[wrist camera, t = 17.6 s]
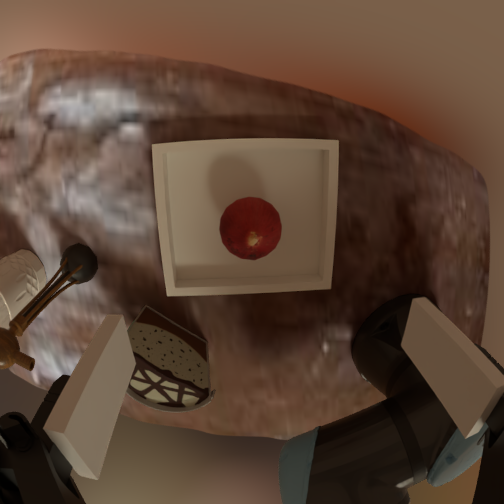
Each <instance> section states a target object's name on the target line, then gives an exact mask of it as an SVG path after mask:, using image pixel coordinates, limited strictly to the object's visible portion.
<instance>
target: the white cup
mask: <svg viewBox="0 0 504 504" xmlns="http://www.w3.org/2000/svg"><path fill="white" fill-rule="evenodd" d="M45 285H46V273H45V270H44V266H43V265H42V263H41V261H40V260H39V258H38V257H37V256H36V255H35V254H33V253H32V252H31V251H29V250H24V249H21V250H18V251H16V252H14V253H12V254H11V255H8V256H5V257H4V258H2V259H0V327H2V328H6V329H7V330H9V328H10V327H9V322H10V321H11V320H12V319H13V318H14V317H15V316H16V315H17V314H18V313H19V312H20V311H21V310H22V309H23V308H24V307H25V306H26V305H27V304H28V303H29V302H30V301H31V300H32V299H33V298H34V297H35V296H36V295H37V294H38V293H39V292H40V291H41V290H42V289H43V288H44V287H45ZM23 314H24V313H23ZM23 314H22V315H23Z"/></svg>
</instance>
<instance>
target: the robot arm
mask: <svg viewBox="0 0 504 504" xmlns="http://www.w3.org/2000/svg"><path fill="white" fill-rule="evenodd" d="M352 356H353V361H354V364H355V366H356V368H357V370H358V372H359V373H360V375H361V376H362V377H363V378H364V379H365V380H366V381H367V382H369V383H371V384H372V385H373V386H374V387H376V388H377V389H378V390H379V391H380V392H382V393H383V394H384V395H385V396H386V397H387V399H386V400H384V401H382V402H379V403H377V404H375V405H372V406H370V407H368V408H366V409H363V410H361V411H359V412H356V413H354V414H352V415H349V416H347V417H344V418H342V419H339V420H337V421H334V422H332V423H329V424H326V425H324V426H318V427H315V429H314V430H311V431H309V432H306V433H303V434H301V435H298V436H295V437H293V438H291V439H289V440H288V441H287V442H286V443H285V444H284V446H283V448H282V450H281V453H280V458H279V485H280V493H281V499H282V503H283V504H410V502H411V501H410V498H409V494H408V492H407V489H408V488H409V487H411V486H413V485H415V484H417V483H419V482H421V481H423V480H425V479H427V482H428V483H429V484H431V485H432V486H434V487H437V486H441V485H443V484H444V483H446V482H449V481H451V480H453V479H454V478H456V477H457V476H458V475H460V474H461V473H463V472H464V471H465V470H466V469H468V468H469V467H470V466H471V465H472V464H474V463H475V462H476V461H477V460H478V459H479V458H480V457H481V456H482V459H481V465H480V470H479V476H478V481H477V485H476V490H475V494H474V498H473V502H472V504H504V369H503V367H502V366H500V364H499V363H497V361H496V360H495V359H494V358H493V357H491V355H490V354H489V353H488V352H487V351H486V350H485V349H484V348H482V347H481V346H479V345H477V344H473V343H472V342H471V341H470V340H469V339H468V338H467V337H466V336H465V335H464V334H463V333H462V332H461V331H460V330H459V329H458V328H457V327H456V326H455V325H454V324H453V323H452V322H451V321H450V320H449V319H448V318H447V317H446V316H445V315H444V314H443V313H442V311H441V310H440V309H439V307H438V306H437V305H436V304H434V303H433V302H432V301H431V300H430V299H429V298H427V297H425V296H423V295H418V294H409V295H404V296H400V297H398V298H395V299H393V300H391V301H389V302H387V303H386V304H384V305H383V306H381V307H380V308H378V309H377V310H376V311H375V312H374V313H373V314H372V315H371V316H370V317H369V318H368V319H367V320H366V321H365V323H364V324H363V325H362V327H361V328H360V330H359V332H358V334H357V336H356V338H355V341H354V344H353V349H352ZM135 365H136V362H135V358H134V355H133V351H132V348H131V344H130V340H129V337H128V333H127V329H126V325H125V321H124V317H123V315H109V314H107V316H106V318H105V319H104V321H103V322H102V324H101V326H100V327H99V329H98V330H97V332H96V334H95V335H94V337H93V339H92V340H91V342H90V344H89V345H88V347H87V349H86V350H85V352H84V354H83V355H82V357H81V359H80V360H79V362H78V364H77V366H76V367H75V369H74V371H73V373H72V374H71V376H69V375H62V376H61V377H59V378H58V379H57V380H56V381H55V382H54V383H53V384H52V386H51V388H50V390H49V391H48V394H47V395H46V397H45V398H44V402H42V404H41V405H40V407H39V409H38V411H37V413H36V414H35V416H34V418H33V420H32V422H31V424H30V423H29V421H28V420H27V418H26V417H25V416H24V415H23V414H21V413H19V412H9V413H6V414H5V415H3V416H1V417H0V504H86V503H85V501H84V499H83V498H82V496H81V494H80V492H79V490H78V488H77V486H76V484H75V482H74V480H73V479H72V477H71V476H70V473H71V470H72V467H73V469H74V470H75V471H76V472H77V473H78V475H79V476H83V477H87V478H91V479H96V480H98V479H99V476H100V472H101V469H102V465H103V462H104V458H105V455H106V452H107V449H108V445H109V442H110V439H111V435H112V432H113V429H114V426H115V423H116V420H117V417H118V414H119V411H120V408H121V405H122V402H123V399H124V396H125V393H126V390H127V388H128V385H129V382H130V379H131V376H132V373H133V371H134V368H135Z"/></svg>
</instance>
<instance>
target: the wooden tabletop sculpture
mask: <svg viewBox="0 0 504 504" xmlns="http://www.w3.org/2000/svg"><path fill="white" fill-rule="evenodd" d="M60 266H61V267H60V268H59V270H58V271H57V272H56V274H55V275H54V276H53V277H52V279H51V280H50V281H49V282H48V283H47V284H46V285H45V287H44V288H43V289H42V290H41V291H40V292H39V293H38V294H37V295H36V296H35V297H34V298H33V299H32V300H31V301H30V302H29V303H28V304H27V305H26V306H25V307H24V308H23V309H22V310H21V311H20V312H19V313H18V314H17V315H16V316H15V317H14V318H13V319H12V320H11V321H10V322H9V327H10V328H9V330H7V329H6V328H2V327H0V369H5V368H9V367H11V366H12V365H13V364H14V363H16V364H18V365H20V366H22V367H23V368H25V369H27V370H29V371H32V370H33V368H34V365H35V359H34V358H32V357H30V356H28V355H26V354H24V353H22V352H20V347H19V343H18V340H17V338H16V337H15V336H16V335H17V336H18V337H19V336H22V335H23V332H24V331H25V329H26V328H27V327H28V326H29V325H30V324H31V323H32V321H33V320H34V319H35V318H36V317H37V316H38V315H39V314H40V312H41V311H42V310H43V309H44V308H45V307H46V306H47V305H48V304H49V303H50V302H51V301H52V300H53V299H54V298H56V297H57V296H58V295H59V294H60V293H61V292H63V291H64V290H65V289H67V288H68V287H70V286H72V285H73V284H81V283H84V282H88V281H89V280H91V279H92V278H93V277H94V275H95V273H96V271H97V269H98V265H97V258H96V256H95V254H94V253H93V252H92V250H91V249H90V248H89V247H87V246H85V245H82V244H79V243H78V244H75V245H72V246H70V247H68V248H67V249H66V251H65V252H64V254H63V257H62V259H61V262H60ZM61 271H62V275H61V276H60V277H59V278H58V279H57V280H56V281H55V282H54V283H53V284H52V285H51V283H52V282H53V281H54V280H55V279H56V277H57V276H58V275H59V273H60V272H61ZM67 280H68V281H69V282H71V283H69V284H67V285H66V286H64V287H63V288H61V289H60V290H59V291H58V292H56V291H57V290H58V289H59V288H60V287H61V286H62V285H63V284H64V283H65V282H66V281H67ZM50 285H51V286H50ZM49 286H50V287H49ZM48 287H49V288H48ZM47 288H48V289H47ZM46 289H47V290H46ZM45 290H46V291H45ZM44 291H45V292H44ZM55 292H56V293H55ZM54 293H55V294H54ZM53 294H54V295H53ZM52 295H53V296H52ZM51 296H52V297H51ZM50 297H51V298H50ZM23 313H24V314H23ZM22 314H23V315H22Z"/></svg>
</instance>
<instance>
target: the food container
mask: <svg viewBox="0 0 504 504" xmlns="http://www.w3.org/2000/svg"><path fill="white" fill-rule="evenodd" d="M127 333H128V337H129V340H130V344H131V348H132V351H133V355H134V358H135V362H136V365H135V368H134V371H133V373H132V376H131V379H130V382H129V385H128V388H127V390H126V393H127V394H128V395H129V396H130V397H132V398H133V399H134V400H136V401H138V402H139V403H141V404H143V405H145V406H147V407H150V408H153V409H156V410H160V411H165V412H188V411H193V410H196V409H199V408H201V407H203V406H205V405H207V404H208V403H209V402H211V399H213V397H214V394H215V391H216V390H215V389H214V390H213V391H212V392H211V384H210V370H209V354H208V342H207V341H205V340H204V339H202V338H200V337H198V336H197V335H195V334H193V333H192V332H190V331H188V330H186V329H185V328H183V327H181V326H180V325H178V324H177V323H175V322H173V321H172V320H170V319H168V318H167V317H165V316H164V315H162V314H160V313H159V312H157V311H156V310H154V309H152V308H151V307H149V306H148V305H146V304H145V306H144V307H143V309H142V310H141V311H140V313H139V314H138V316H137V317H136V318H135V320H134V321H133V323H132V324H131V326H130V327H129V328H128V330H127Z"/></svg>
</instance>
